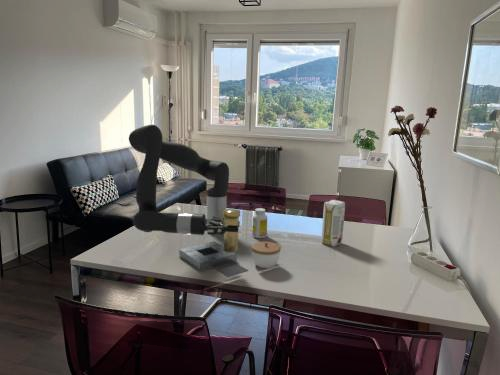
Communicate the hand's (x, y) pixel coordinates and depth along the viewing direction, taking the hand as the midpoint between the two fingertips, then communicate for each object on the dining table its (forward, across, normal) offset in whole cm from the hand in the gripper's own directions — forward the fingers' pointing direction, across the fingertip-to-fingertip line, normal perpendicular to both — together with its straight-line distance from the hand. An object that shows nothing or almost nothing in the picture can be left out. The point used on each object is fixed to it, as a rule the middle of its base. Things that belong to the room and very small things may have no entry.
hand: (238, 226), depth 134 cm
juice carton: (+40, +33, +16) cm, 54 cm away
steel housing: (-12, +9, +17) cm, 23 cm away
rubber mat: (-2, 0, +17) cm, 17 cm away
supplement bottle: (+7, +38, +17) cm, 43 cm away
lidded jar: (+10, +6, +17) cm, 21 cm away
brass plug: (-3, 0, +9) cm, 9 cm away
